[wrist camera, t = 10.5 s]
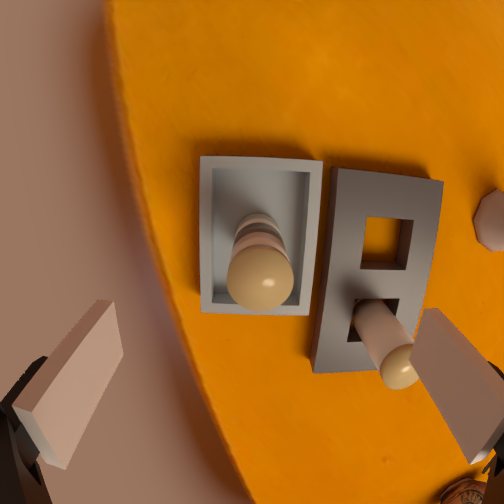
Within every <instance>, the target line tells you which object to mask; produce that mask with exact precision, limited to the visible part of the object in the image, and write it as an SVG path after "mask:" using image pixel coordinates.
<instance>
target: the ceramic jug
mask: <svg viewBox="0 0 504 504" xmlns="http://www.w3.org/2000/svg"><path fill="white" fill-rule="evenodd" d="M486 484H487V483H486V482H482V481H476V480H473V479H471V478H465V479H462V480H460V481H458V482H456V483H455V484H453V485H451V486H449V487H448V488H447V489H446V490H445V491H444V492H443V493H442V494H441V496H440V500H441V503H440V504H481V503H482V500H483V496H484V492H485V488H486Z"/></svg>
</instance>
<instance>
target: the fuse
mask: <svg viewBox="0 0 504 504" xmlns="http://www.w3.org/2000/svg"><path fill="white" fill-rule="evenodd" d="M351 321H352V323H353V325H354V327H355V329H356V331H357V332H358V334H359V336H360V338H361V340H362V342H363V343H364V345H365V347H366V349H367V351H368V353H369V355H370V357H371V358H372V360H373V362H374V364H375V366H376V368H377V370H378V372H379V374H380V376H381V378H382V379H383V381H384V383H385V385H386V386H387V387H388V388H391V389H403V388H406V387H408V386H410V385H412V384H413V383H415V382H416V381H417V380H418V379H419V376H418V374H417V373H416V371H415V370H414V368H413V366H412V365H411V363H410V362H409V360H408V359H409V356H410V353H411V350H412V347H413V344H414V340H413V339H412V337H411V336H410V335H409V333H408V332H407V331H406V330H405V328H404V327H403V326H402V324H401V323H400V322H399V321H398V319H397V318H396V317H395V316H394V314H393V313H392V312H391V311H390V309H389V308H388V307H387V306H386V304H385V303H384V302H383V301H382V299H355V301H354V307H353V312H352V317H351Z"/></svg>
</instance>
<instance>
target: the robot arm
mask: <svg viewBox="0 0 504 504" xmlns="http://www.w3.org/2000/svg"><path fill="white" fill-rule="evenodd" d="M122 357H123V350H122V345H121V340H120V335H119V329H118V324H117V318H116V312H115V306H114V301H108V300H97V301H96V302H95V303H94V304H93V305H92V307H91V308H90V309H89V310H88V311H87V312H86V314H85V315H84V316H83V317H82V318H81V319H80V320H79V321H78V323H77V324H76V325H75V326H74V327H73V328H72V330H71V331H70V332H69V333H68V334H67V336H66V337H65V338H64V339H63V340H62V341H61V343H60V344H59V345H58V346H57V348H56V349H55V350H54V351H53V352H52V354H51V355H50V356H49V357H45V356H42V357H41V358H39V359H37V360H36V361H34V362H33V363H32V364H31V365H30V366H29V367H28V369H27V370H26V371H25V374H23V375H22V376H21V377H20V378H19V381H17V382H16V383H15V385H14V386H13V387H12V388H11V390H10V391H9V392H8V393H7V395H6V396H5V397H4V399H3V400H2V401H1V402H0V504H52V501H51V499H50V496H49V493H48V490H47V488H46V485H45V482H44V479H43V476H42V473H41V470H40V467H39V464H38V463H37V461H36V459H37V457H38V455H39V453H40V454H41V455H42V457H43V458H44V460H45V461H46V463H48V464H51V465H53V466H56V467H59V468H62V469H65V470H66V468H67V465H68V463H69V461H70V459H71V457H72V455H73V452H74V450H75V449H76V446H77V444H78V442H79V440H80V438H81V436H82V434H83V432H84V430H85V428H86V426H87V424H88V422H89V420H90V418H91V416H92V413H93V412H94V410H95V408H96V406H97V404H98V402H99V400H100V398H101V396H102V394H103V393H104V391H105V389H106V387H107V385H108V383H109V381H110V379H111V377H112V375H113V374H114V372H115V370H116V368H117V366H118V364H119V362H120V361H121V359H122ZM408 360H409V362H410V363H411V365H412V366H413V368H414V370H415V371H416V373H417V374H418V376H419V378H420V379H421V381H422V382H423V384H424V386H425V387H426V389H427V391H428V392H429V394H430V396H431V397H432V399H433V401H434V402H435V404H436V406H437V407H438V409H439V411H440V413H441V414H442V416H443V418H444V419H445V421H446V423H447V425H448V426H449V428H450V430H451V432H452V434H453V435H454V437H455V439H456V441H457V443H458V444H459V446H460V448H461V450H462V452H463V454H464V455H465V457H466V459H467V461H468V463H469V465H471V464H473V463H476V462H478V461H481V460H483V459H485V458H486V457H487V455H488V454H489V453H490V451H491V450H492V449H493V448H494V450H495V452H496V454H495V456H494V457H493V458H492V459H491V461H490V462H489V463H488V464H487V466H486V467H485V468H484V469H483V471H482V473H483V474H484V473H485V472H486V471H487V470H488V468H490V472H489V473H488V474H487V475H489V476H488V480H487V484H486V488H485V492H484V496H483V500H482V503H481V504H504V374H503V373H502V371H501V370H500V369H499V368H498V367H497V366H495V365H494V364H492V363H491V362H489V361H486V359H485V358H484V357H483V356H482V355H481V354H480V353H479V352H478V350H477V349H476V348H475V347H474V346H473V345H472V344H471V343H470V342H469V341H468V339H467V338H466V337H465V336H464V335H463V334H462V333H461V332H460V331H459V330H458V329H457V328H456V327H455V326H454V325H453V323H452V322H451V321H450V320H449V319H448V318H447V317H446V316H445V315H444V314H443V313H442V312H441V311H440V310H439V309H438V308H431V309H424V311H423V315H422V318H421V322H420V325H419V328H418V332H417V335H416V338H415V341H414V344H413V347H412V350H411V353H410V356H409V359H408Z"/></svg>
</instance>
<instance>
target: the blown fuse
mask: <svg viewBox="0 0 504 504" xmlns="http://www.w3.org/2000/svg"><path fill="white" fill-rule="evenodd" d="M226 283H227V289H228V291H229V294H230V295H231V297H232V298H233V300H234V301H235V302H236V303H238V304H239V305H240V306H242V307H244V308H246V309H249V310H252V311H267V310H271V309H274V308H276V307H278V306H279V305H281V304H282V303H283V302H284V301H285V300H286V299H287V298H288V297H289V295H290V293H291V291H292V288H293V283H294V277H293V272H292V269H291V265H290V262H289V259H288V255H287V252H286V249H285V246H284V243H283V239H282V236H281V233H280V230H279V227H278V224H277V223H276V221H275V220H274V219H273V218H272V217H270V216H269V215H267V214H264V213H252V214H249V215H247V216H245V217H244V218H243V219H242V220H241V221H240V222H239V224H238V226H237V230H236V234H235V239H234V244H233V248H232V253H231V258H230V263H229V267H228V272H227V278H226Z"/></svg>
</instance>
